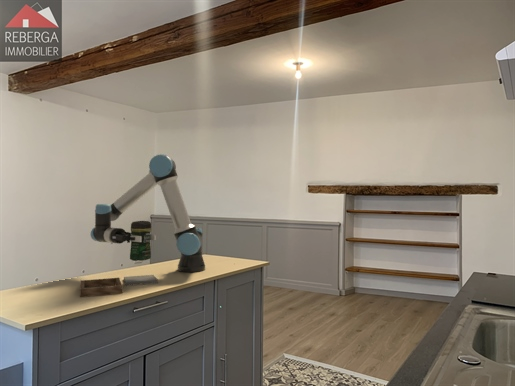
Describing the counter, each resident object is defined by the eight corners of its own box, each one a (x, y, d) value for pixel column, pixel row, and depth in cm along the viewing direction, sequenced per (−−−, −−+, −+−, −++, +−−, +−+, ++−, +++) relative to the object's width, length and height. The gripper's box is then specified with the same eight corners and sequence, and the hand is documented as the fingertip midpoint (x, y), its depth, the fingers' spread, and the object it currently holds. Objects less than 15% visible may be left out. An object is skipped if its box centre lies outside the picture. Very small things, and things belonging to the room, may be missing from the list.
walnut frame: (118, 284, 176) (118, 277, 176) (122, 293, 159) (122, 285, 159) (80, 287, 169) (80, 280, 169) (80, 297, 153) (80, 289, 153)
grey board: (153, 277, 191) (153, 274, 191) (158, 283, 179) (158, 279, 179) (123, 279, 185) (123, 276, 185) (126, 285, 173) (126, 282, 173)
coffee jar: (140, 261, 176) (140, 221, 176) (127, 260, 179) (127, 221, 179) (154, 258, 185) (154, 220, 185) (141, 257, 188) (141, 220, 188)
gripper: (132, 241, 200) (164, 244, 189) (97, 245, 182) (130, 248, 170) (132, 226, 200) (164, 228, 189) (97, 229, 182) (130, 231, 171)
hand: (148, 238), depth 180 cm, fingers closed on coffee jar, 8 cm apart
